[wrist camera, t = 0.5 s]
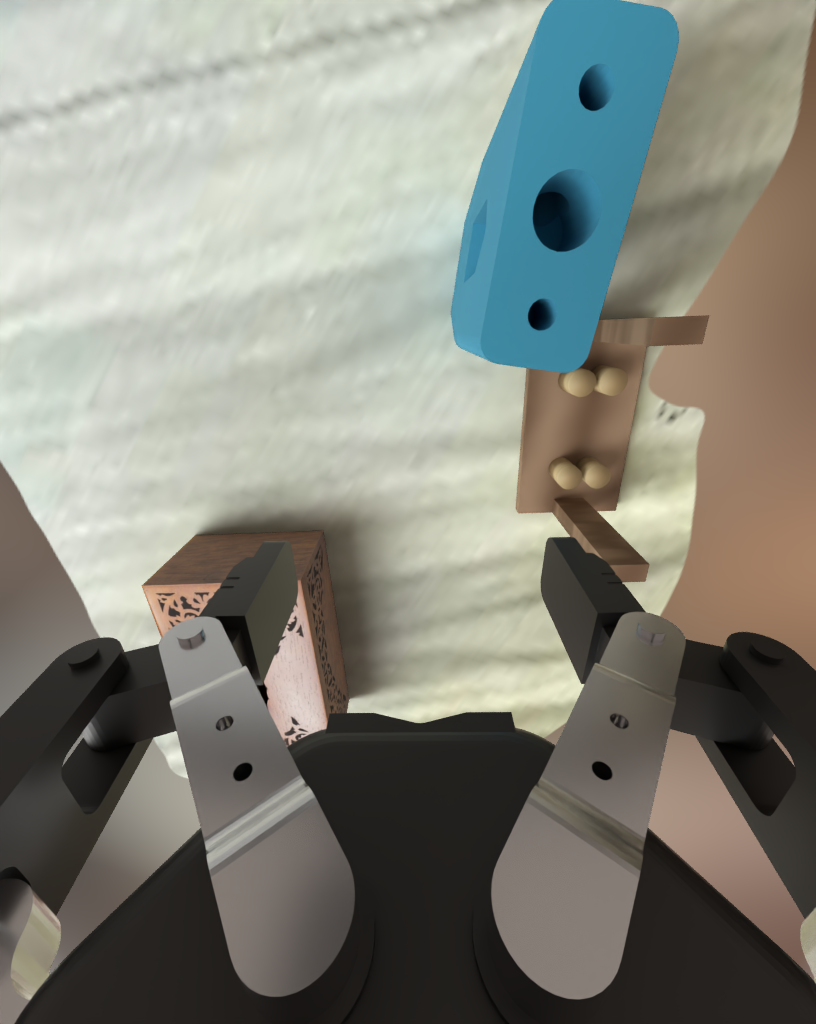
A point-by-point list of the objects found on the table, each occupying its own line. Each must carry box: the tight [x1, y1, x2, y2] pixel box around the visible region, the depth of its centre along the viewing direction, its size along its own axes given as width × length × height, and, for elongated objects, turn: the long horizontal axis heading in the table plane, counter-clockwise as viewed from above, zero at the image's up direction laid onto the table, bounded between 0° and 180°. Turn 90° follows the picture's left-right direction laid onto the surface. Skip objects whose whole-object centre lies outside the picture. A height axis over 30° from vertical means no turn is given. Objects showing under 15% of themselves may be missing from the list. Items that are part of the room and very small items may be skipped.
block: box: [451, 0, 679, 373], centre depth 25 cm, size 12×5×20 cm, turn 173°
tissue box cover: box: [142, 530, 349, 747], centre depth 46 cm, size 26×14×10 cm, turn 3°
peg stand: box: [516, 315, 709, 582], centre depth 33 cm, size 10×18×14 cm, turn 2°
